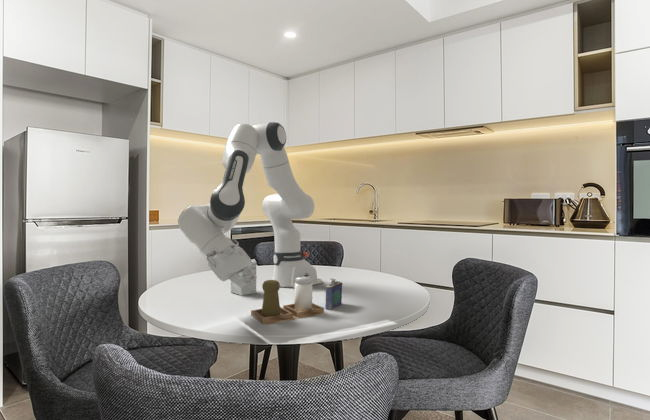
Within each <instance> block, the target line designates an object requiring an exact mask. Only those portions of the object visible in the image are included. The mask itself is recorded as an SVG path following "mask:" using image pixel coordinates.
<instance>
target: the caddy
mask: <svg viewBox="0 0 650 420" xmlns="http://www.w3.org/2000/svg"><path fill="white" fill-rule="evenodd" d="M282 306H283V307H281V306H280V312H281V315H276V316H271V317H264V316H262V315H261V313H262V308H258V309H257V308H256V309H252V310H250V316H251V317H253V318H254V319H256V320H257V321H259V322H260V323H262V324H263V325H269V324H270V325H271V324H275V323H276V324H277V323H281V322H289V321H292V320H297V319H298V320H299V319H303V318H309V317H314V316H320V315H325V314H326V313H325V307H323V306H320V305H318V304H315V303H314V302H312V309H311V310H305V311H300V312H298V311H296V310H295V303H289V304H283V305H282Z"/></svg>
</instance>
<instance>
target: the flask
mask: <svg viewBox="0 0 650 420" xmlns="http://www.w3.org/2000/svg"><path fill="white" fill-rule="evenodd" d="M329 280H330V283H329V284H327V285H326V286H325V304H324V305H325V307H324V310H327V311H331V310H333V309H335V308H336V307H339V306H341V305H342V304H343V301H342V300H343V298H342V297H343V296H342V295H343V294H342V293H343V282H342V281H338V280H336V279H335V278H333V277H331V278H330V279H329Z"/></svg>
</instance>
